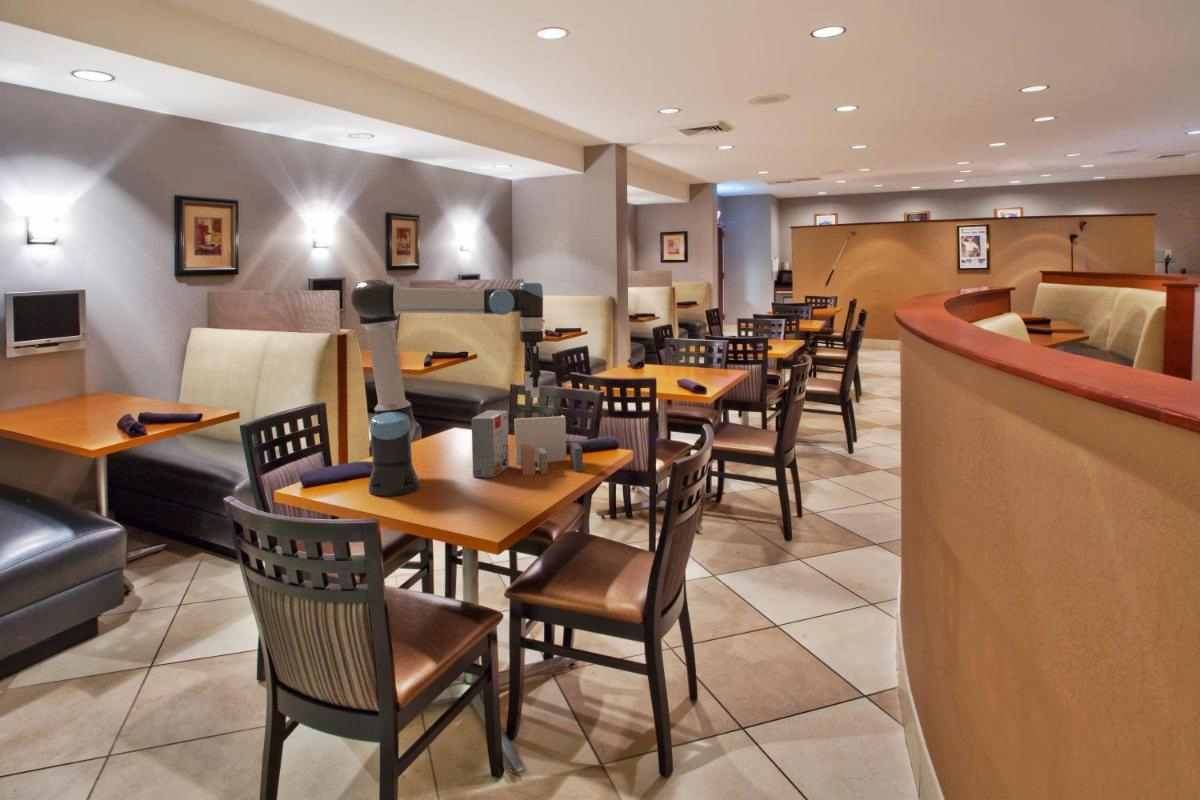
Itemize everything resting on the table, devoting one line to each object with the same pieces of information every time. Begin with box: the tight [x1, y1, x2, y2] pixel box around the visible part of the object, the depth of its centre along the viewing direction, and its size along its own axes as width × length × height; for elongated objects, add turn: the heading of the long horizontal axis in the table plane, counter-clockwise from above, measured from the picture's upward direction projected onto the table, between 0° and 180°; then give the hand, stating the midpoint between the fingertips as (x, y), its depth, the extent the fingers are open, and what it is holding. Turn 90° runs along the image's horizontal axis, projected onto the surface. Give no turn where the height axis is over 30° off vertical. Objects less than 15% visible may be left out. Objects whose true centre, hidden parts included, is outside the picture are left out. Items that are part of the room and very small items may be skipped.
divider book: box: [537, 448, 548, 475], centre depth 239 cm, size 2×8×7 cm, turn 12°
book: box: [520, 444, 536, 476], centre depth 237 cm, size 4×6×9 cm, turn 12°
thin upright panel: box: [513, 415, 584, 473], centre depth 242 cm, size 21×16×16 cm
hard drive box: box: [471, 409, 510, 479], centre depth 237 cm, size 16×8×20 cm, turn 168°
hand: (532, 393), depth 236 cm, fingers open, 13 cm apart
